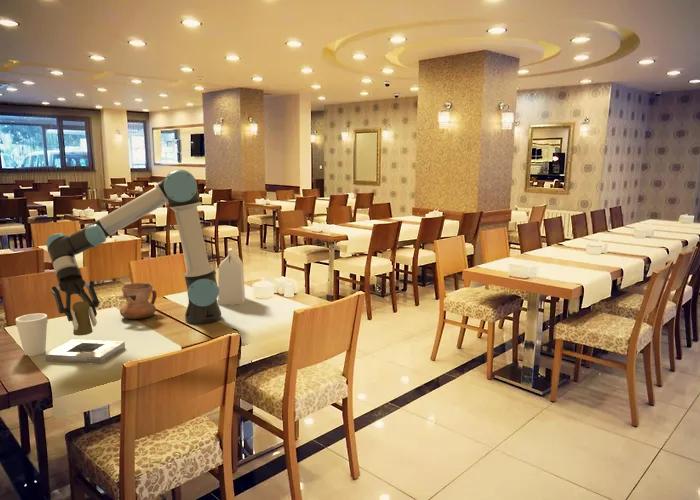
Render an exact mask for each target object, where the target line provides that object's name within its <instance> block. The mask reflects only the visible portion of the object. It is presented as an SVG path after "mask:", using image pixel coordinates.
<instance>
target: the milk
mask: <svg viewBox="0 0 700 500" xmlns="http://www.w3.org/2000/svg"><path fill="white" fill-rule="evenodd" d="M227 253H228V254H227V256H226V257H225V258H224V259H223V260H222V261H221V262H220V264H219V265H218V282H217V286H218V288H219V294H218V297H217V299H218V300H217V303H218V306H226V305H227V304H240V305H243V304H244V302H245V299H246V292H245V289H246V288H245V273H244V261H242V259H241V258H240V257H239V256H238V255H236V254H235V253H234V249H233V248H232V247H230V248H229V249H228V251H227ZM227 306H228V305H227Z"/></svg>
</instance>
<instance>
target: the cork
mask: <svg viewBox="0 0 700 500" xmlns="http://www.w3.org/2000/svg"><path fill="white" fill-rule="evenodd" d="M89 308H90V306H89V303H88V302H84V301H77V302H74V304H73V305H72V310H73V311H74V314H75V317H76V320H77V323H78V329H77V330H74V329H73V333H72V334H73V335H74V336H79V337H80V336H86V335H87V336H88V335H91V334H92V333H93V332H94V331H93V327H92V326H93V325H92V322H91V319H90V316H89V313H88V310H89Z"/></svg>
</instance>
